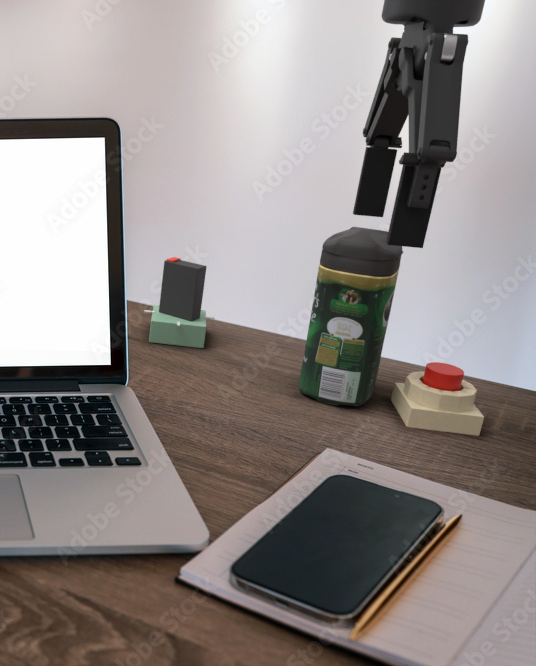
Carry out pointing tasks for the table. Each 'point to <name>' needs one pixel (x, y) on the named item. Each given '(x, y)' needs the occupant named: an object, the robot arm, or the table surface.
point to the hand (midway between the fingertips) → (384, 229)
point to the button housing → (437, 406)
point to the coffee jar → (349, 316)
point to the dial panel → (177, 329)
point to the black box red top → (182, 289)
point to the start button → (443, 376)
